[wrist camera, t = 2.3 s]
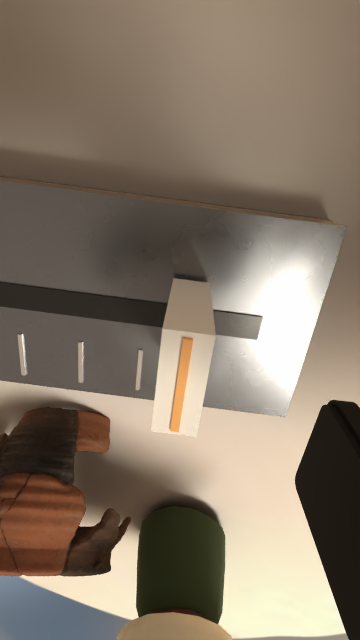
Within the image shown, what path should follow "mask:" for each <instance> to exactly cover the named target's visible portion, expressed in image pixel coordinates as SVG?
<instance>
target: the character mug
mask: <svg viewBox="0 0 360 640" xmlns="http://www.w3.org/2000/svg"><path fill="white" fill-rule="evenodd" d="M224 573H225V534H224V531H223V529H222V527H221V526H220V525H219V524H218V523H217V522H216V521H215V520H213V519H212V518H211V517H210V516H208V515H206V514H204V513H201V512H199V511H197V510H195V509H193V508H186V507H178V506H170V507H166V508H163V509H159V510H155V511H154V512H153V513H152V514H151V515H150V516H148V517H147V518H146V519H145V520H144V521H143V523H142V527H141V530H140V534H139V545H138V560H137V597H136V608H137V612H138V616H139V618H137V619H134V620H131V621H129V622H128V623H127V624H126V625H125V626H124V627H123V628H122V629H121V630H120V632H119V634H118V637H117V640H233V639H232V637H231V635H229V634H228V633H227V632H226V631H225V630H224V629H223V628H222V627H221V626H220V625H218V623H219V620H220V617H221V614H222V606H223V589H224Z"/></svg>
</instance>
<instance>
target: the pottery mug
mask: <svg viewBox="0 0 360 640" xmlns="http://www.w3.org/2000/svg"><path fill="white" fill-rule="evenodd" d="M109 432H110V419H109V418H107V417H104V416H102V415H99V414H94V413H91V412H83V411H77V410H69V409H62V408H40V409H36V410H32V411H29V412H27V413H25V415H24V416H23V418H22V419H21V421H20V422H19V424H18V425H17V426H16V427H15V428H14V429H13V431H12V432H11V434H10V435H9V436H8V435H7V434H2V435H0V575H4V576H21V575H26V576H58V575H61V576H91V575H97V574H99V575H100V574H104V573H107V572H109V571H110V570H111V565H110V558H111V551H112V549H113V548H114V547H115V545H116V544H117V543H118V542H119V541H120V540H121V538H122V536H123V535H124V534H125V532H126V530H127V527H128V525H129V523H130V522H131V517H129V516H128V517H126V518H125V519H124V520H123V522H122V524H121V525H120V526H119V527H118V525H119V523H120V519H121V518H120V515H119V514H118V513H117V512H116V511H115V510H114V509H111V508H110V509H107V510H106V511H105V513H104V515H103V517H102V519H101V521H100V523H98V524H96V525H95V526H92V527H80V526H79V524H80V522H81V519H82V517H83V516H84V513H85V511H86V507H85V499H84V496H83V494H82V492H81V491H80V490H79V489H78V488H76V487H75V486H73V482H74V455H75V452H76V451H92V452H99V453H105V452H107V451H108V449H109V445H110V439H109Z"/></svg>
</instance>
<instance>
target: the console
mask: <svg viewBox="0 0 360 640" xmlns="http://www.w3.org/2000/svg"><path fill="white" fill-rule="evenodd" d="M346 230H347V227H346V226H344V225H341V224H338V223H336V222H333V221H331V220H325V219H318V218H310V217H303V216H295V215H288V214H280V213H273V212H265V211H258V210H250V209H243V208H235V207H228V206H220V205H213V204H205V203H198V202H190V201H183V200H175V199H168V198H160V197H153V196H145V195H138V194H130V193H123V192H115V191H108V190H100V189H93V188H85V187H78V186H70V185H63V184H55V183H48V182H40V181H33V180H25V179H18V178H10V177H3V176H0V380H1V381H9V382H17V383H24V384H32V385H40V386H48V387H55V388H63V389H71V390H79V391H86V392H94V393H102V394H110V395H117V396H125V397H133V398H141V399H148V400H155V391H156V382H157V372H158V363H159V354H160V345H161V336H162V328H163V323H164V319H165V314H166V310H167V305H168V301H169V296H170V292H171V287H172V283H173V278H176V279H184V280H192V281H199V282H207V283H210V287H211V297H212V306H213V315H214V324H215V333H216V337H215V342H214V348H213V353H212V358H211V364H210V369H209V374H208V380H207V385H206V390H205V396H204V401H203V407H210V408H218V409H226V410H234V411H241V412H249V413H257V414H265V415H272V416H280V417H285V416H286V413H287V410H288V407H289V404H290V401H291V398H292V395H293V392H294V389H295V386H296V383H297V380H298V377H299V374H300V371H301V367H302V364H303V361H304V358H305V355H306V352H307V349H308V346H309V343H310V340H311V337H312V334H313V331H314V328H315V325H316V322H317V318H318V315H319V312H320V309H321V306H322V303H323V300H324V297H325V294H326V291H327V288H328V285H329V282H330V279H331V276H332V273H333V269H334V266H335V263H336V260H337V257H338V254H339V251H340V248H341V245H342V242H343V239H344V236H345V233H346Z"/></svg>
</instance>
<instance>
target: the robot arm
mask: <svg viewBox="0 0 360 640" xmlns="http://www.w3.org/2000/svg"><path fill="white" fill-rule="evenodd" d="M295 485H296V490H297V493H298V495H299V498H300V501H301V504H302V507H303V510H304V513H305V516H306V518H307V521H308V524H309V527H310V530H311V533H312V536H313V539H314V541H315V544H316V547H317V550H318V553H319V556H320V559H321V562H322V565H323V567H324V570H325V573H326V576H327V579H328V582H329V585H330V588H331V590H332V593H333V596H334V599H335V602H336V605H337V608H338V611H339V614H340V616H341V619H342V622H343V625H344V628H345V631H346V634H347V636H348V638H349V640H360V408H359V406H358V405H357V404H356V403H354V402H347V401H338V400H331V401H330V402H329V403H328V404H327V405H323V406H322V408H321V410H320V412H319V415H318V418H317V420H316V423H315V425H314V428H313V431H312V433H311V436H310V439H309V441H308V444H307V446H306V449H305V452H304V454H303V457H302V460H301V462H300V465H299V467H298V470H297V473H296V476H295Z"/></svg>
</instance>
